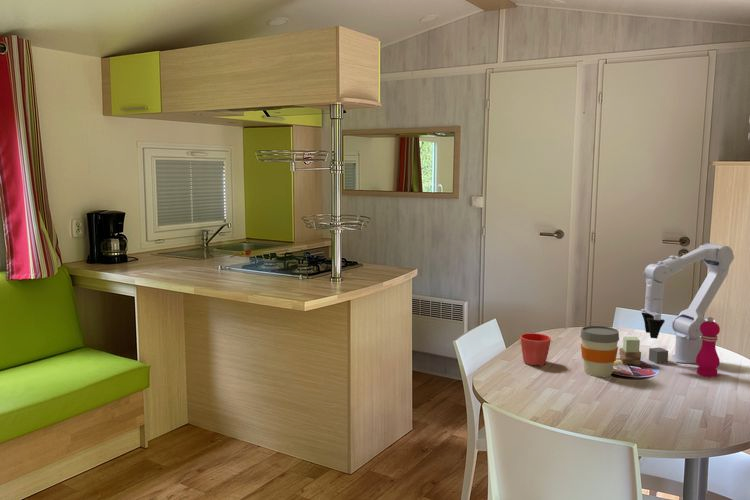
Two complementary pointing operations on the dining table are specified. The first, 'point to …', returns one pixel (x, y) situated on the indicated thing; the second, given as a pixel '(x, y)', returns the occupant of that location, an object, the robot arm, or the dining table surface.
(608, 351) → the reusable coffee cup
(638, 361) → the base slab
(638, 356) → the top slab
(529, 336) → the flower pot
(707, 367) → the pepper mill
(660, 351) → the charcoal block
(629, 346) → the green cube
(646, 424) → the dining table surface
